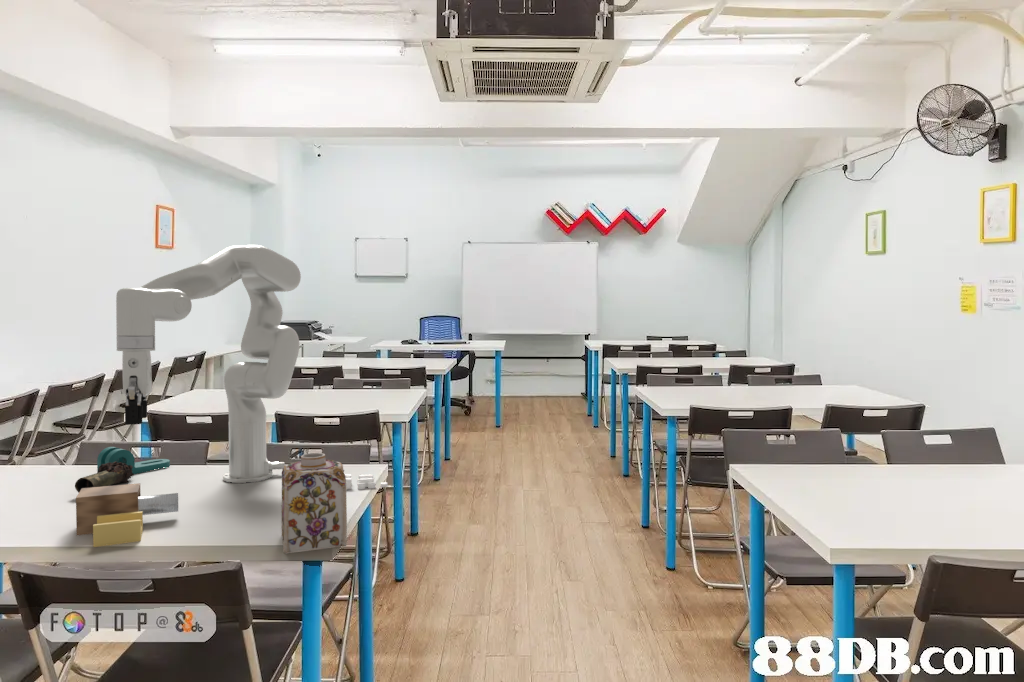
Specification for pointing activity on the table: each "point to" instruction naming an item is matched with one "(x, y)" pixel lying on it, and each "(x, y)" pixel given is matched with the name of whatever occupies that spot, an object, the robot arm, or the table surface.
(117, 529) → the ochre V-block
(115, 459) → the bracket
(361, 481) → the modular blocks
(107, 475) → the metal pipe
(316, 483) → the decorative jar
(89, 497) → the walnut block
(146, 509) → the steel axle
